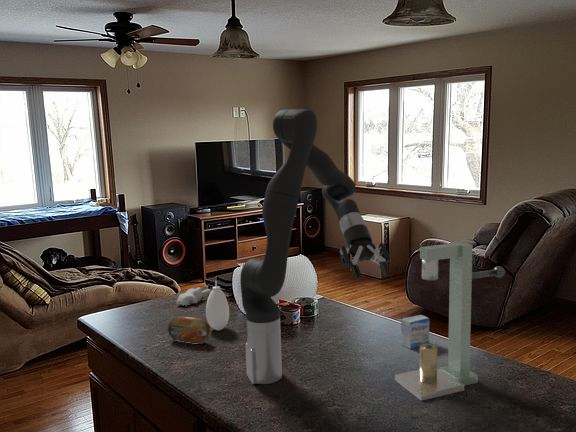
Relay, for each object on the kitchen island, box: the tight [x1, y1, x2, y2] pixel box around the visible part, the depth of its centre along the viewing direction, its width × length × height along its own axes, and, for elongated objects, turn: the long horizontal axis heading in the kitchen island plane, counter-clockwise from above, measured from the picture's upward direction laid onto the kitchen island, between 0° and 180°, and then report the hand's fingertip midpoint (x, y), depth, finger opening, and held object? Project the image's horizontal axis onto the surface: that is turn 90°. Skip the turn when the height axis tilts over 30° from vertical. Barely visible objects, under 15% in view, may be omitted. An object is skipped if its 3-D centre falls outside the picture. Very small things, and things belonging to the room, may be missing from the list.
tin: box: [167, 315, 211, 345], centre depth 169 cm, size 15×3×8 cm, turn 68°
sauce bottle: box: [205, 280, 230, 331], centre depth 178 cm, size 8×8×18 cm
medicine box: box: [400, 314, 430, 350], centre depth 161 cm, size 8×4×9 cm, turn 117°
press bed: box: [394, 241, 506, 401], centre depth 136 cm, size 30×12×37 cm, turn 110°
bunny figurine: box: [176, 287, 212, 307], centre depth 211 cm, size 10×5×15 cm
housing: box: [418, 343, 438, 384], centre depth 135 cm, size 4×4×9 cm
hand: (373, 276), depth 146 cm, fingers open, 8 cm apart
